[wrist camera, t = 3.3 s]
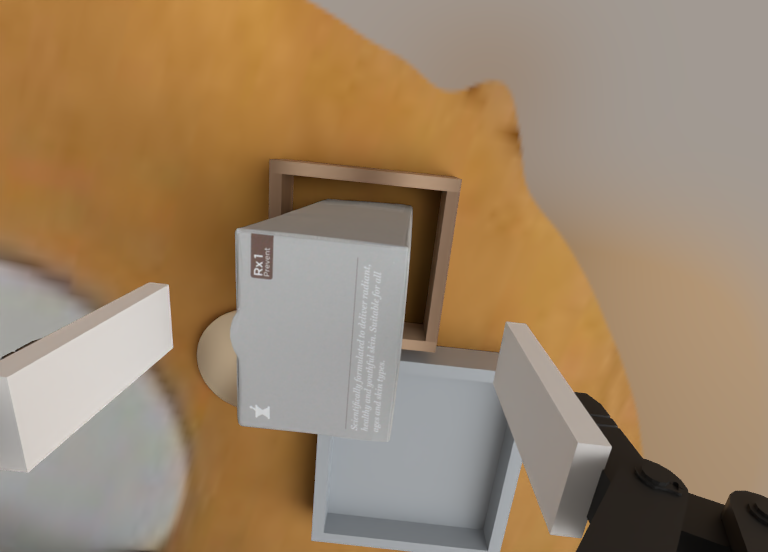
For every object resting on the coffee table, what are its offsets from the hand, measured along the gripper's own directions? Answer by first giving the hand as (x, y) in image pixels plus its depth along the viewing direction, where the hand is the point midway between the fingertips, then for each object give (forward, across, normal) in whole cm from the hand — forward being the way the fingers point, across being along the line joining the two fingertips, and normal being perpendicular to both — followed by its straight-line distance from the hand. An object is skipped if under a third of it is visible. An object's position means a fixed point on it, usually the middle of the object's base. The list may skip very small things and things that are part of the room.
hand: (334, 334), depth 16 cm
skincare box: (+15, 0, 0) cm, 15 cm away
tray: (+14, +6, -16) cm, 23 cm away
